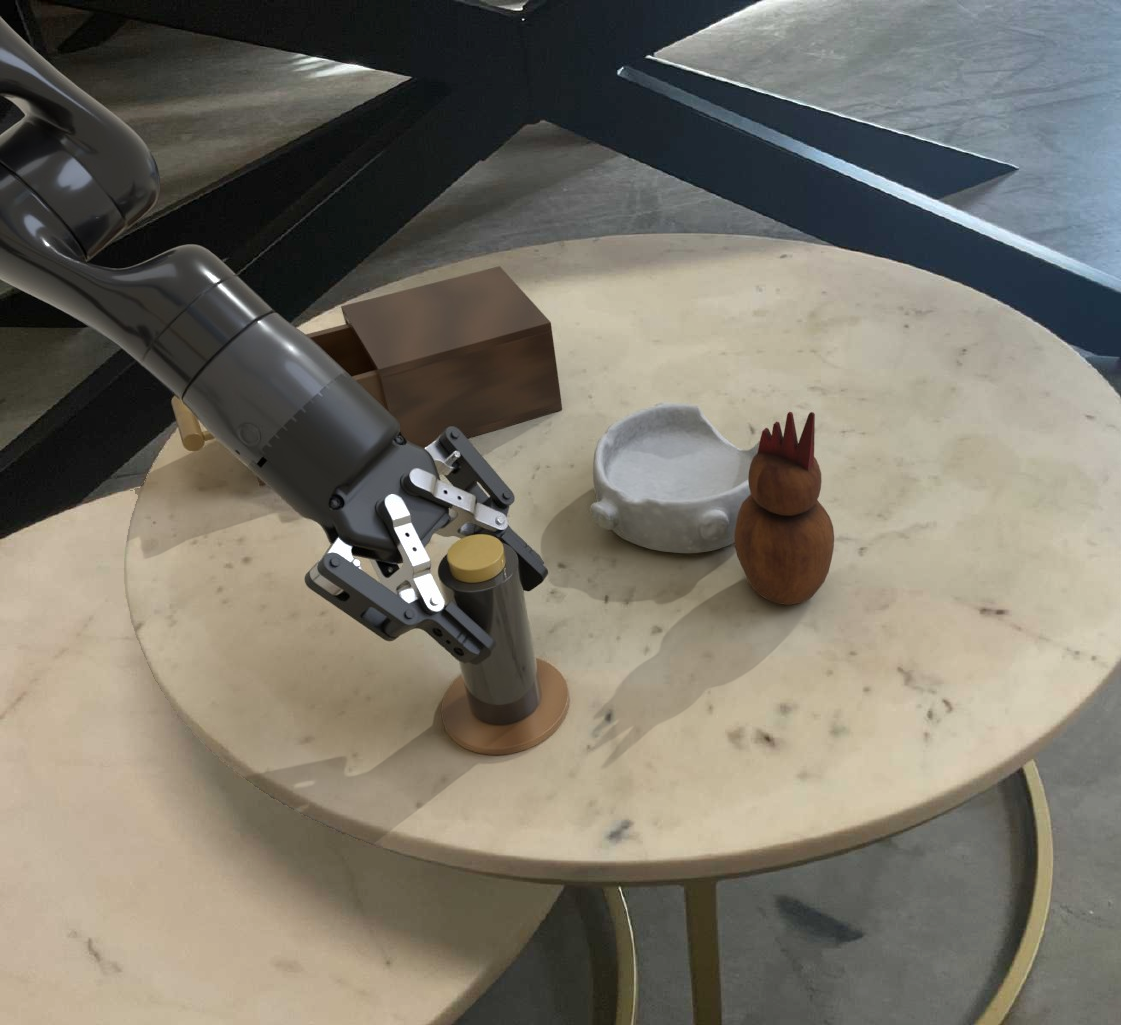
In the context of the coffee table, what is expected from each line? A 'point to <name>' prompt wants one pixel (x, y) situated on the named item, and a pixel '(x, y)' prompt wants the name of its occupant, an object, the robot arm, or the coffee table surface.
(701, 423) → the dish
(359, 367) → the drawer
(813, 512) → the wooden figurine
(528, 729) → the coaster
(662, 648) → the coffee table surface
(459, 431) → the robot arm
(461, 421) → the cabinet
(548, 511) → the coffee table surface
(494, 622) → the cylinder
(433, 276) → the coffee table surface
